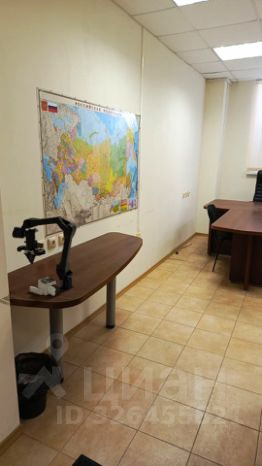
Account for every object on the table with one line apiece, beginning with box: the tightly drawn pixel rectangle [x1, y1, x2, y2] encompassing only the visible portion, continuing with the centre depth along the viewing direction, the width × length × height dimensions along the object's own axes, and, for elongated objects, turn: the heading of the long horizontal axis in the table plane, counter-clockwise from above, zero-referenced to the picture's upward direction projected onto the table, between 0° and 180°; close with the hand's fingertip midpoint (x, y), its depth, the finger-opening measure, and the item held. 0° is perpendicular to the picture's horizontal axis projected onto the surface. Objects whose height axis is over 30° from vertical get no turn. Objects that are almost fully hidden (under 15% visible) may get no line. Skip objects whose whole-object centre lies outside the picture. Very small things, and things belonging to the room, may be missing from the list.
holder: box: [29, 286, 44, 296], centre depth 184 cm, size 9×12×3 cm
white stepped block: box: [37, 276, 61, 297], centre depth 179 cm, size 7×7×12 cm
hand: (31, 264), depth 190 cm, fingers closed
